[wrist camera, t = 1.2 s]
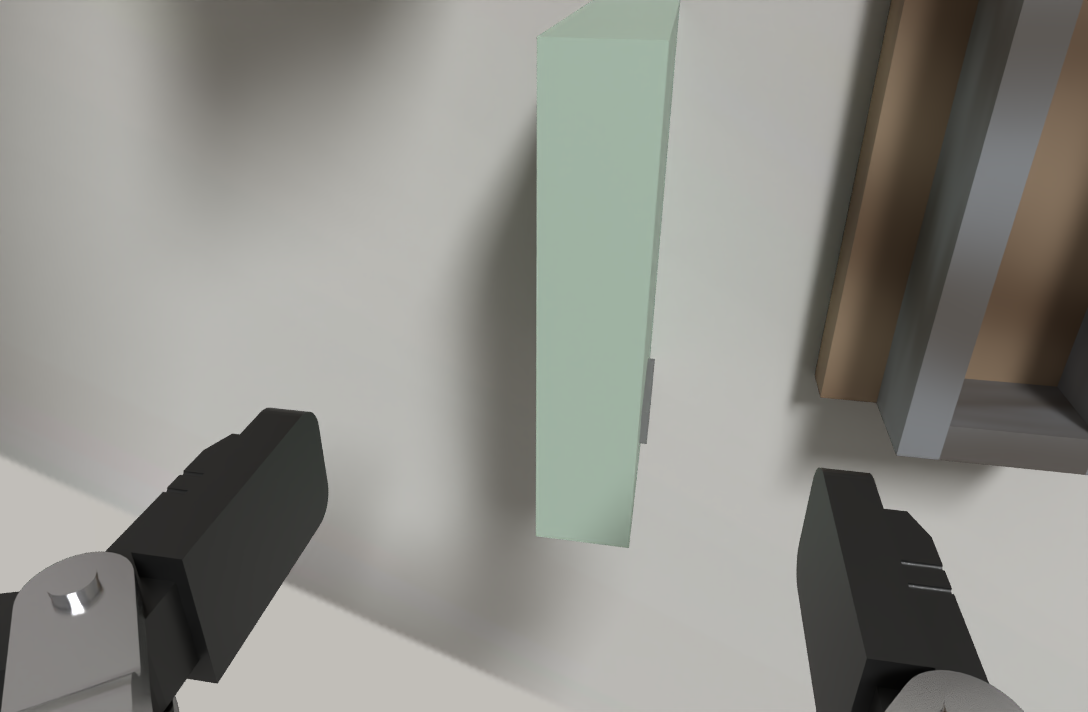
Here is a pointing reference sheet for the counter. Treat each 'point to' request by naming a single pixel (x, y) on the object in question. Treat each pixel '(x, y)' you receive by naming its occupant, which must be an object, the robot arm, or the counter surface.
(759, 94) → the counter surface
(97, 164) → the counter surface
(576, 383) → the door panel
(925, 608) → the robot arm
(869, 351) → the door track
